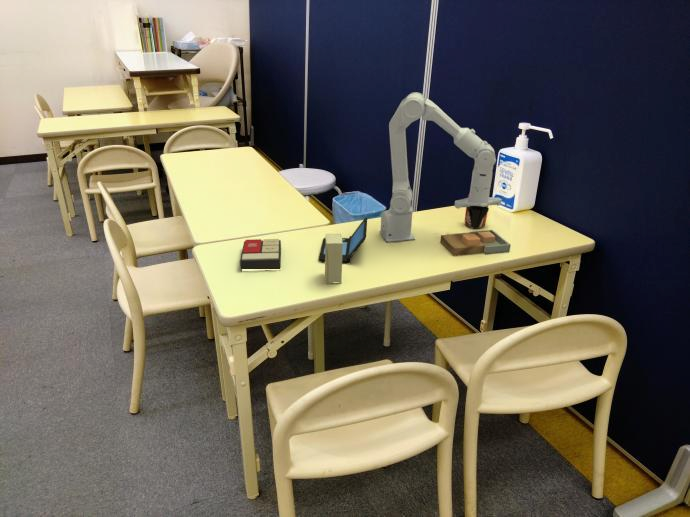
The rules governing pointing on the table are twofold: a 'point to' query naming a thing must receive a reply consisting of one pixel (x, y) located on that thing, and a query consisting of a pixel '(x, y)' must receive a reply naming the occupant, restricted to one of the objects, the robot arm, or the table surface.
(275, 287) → the table surface
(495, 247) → the box
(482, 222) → the soda can
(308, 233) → the table surface
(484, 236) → the tile
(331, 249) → the skincare box
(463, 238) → the tile
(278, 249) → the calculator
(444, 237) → the shallow brown tray
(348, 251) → the game console
